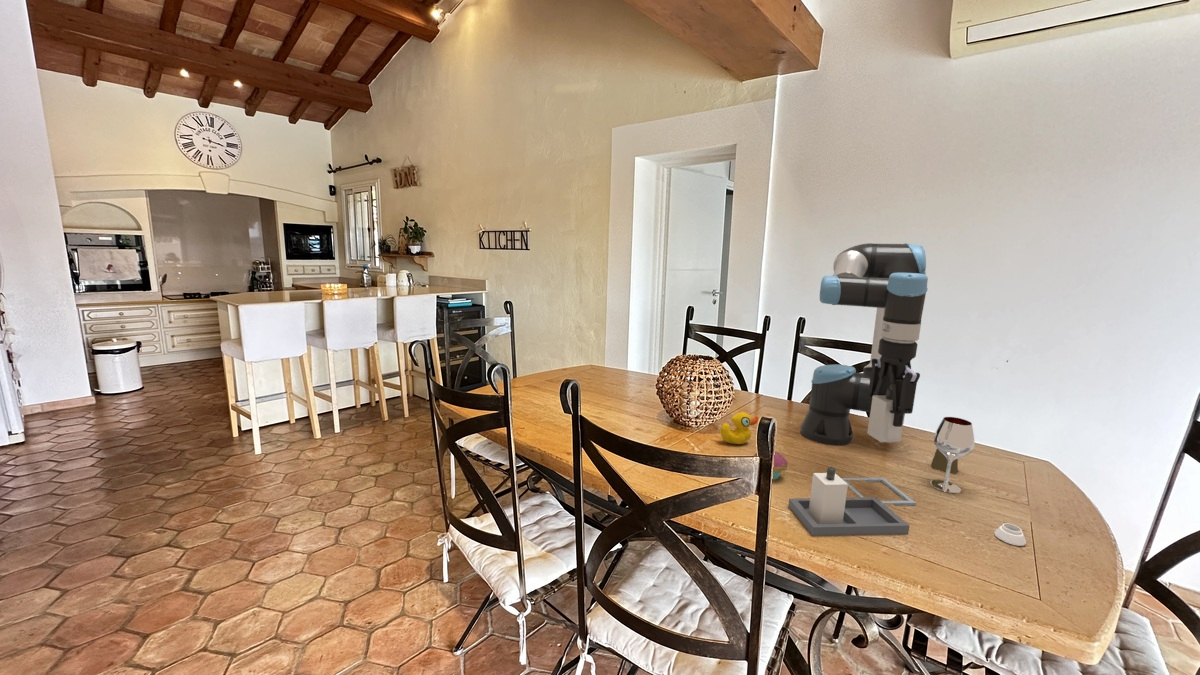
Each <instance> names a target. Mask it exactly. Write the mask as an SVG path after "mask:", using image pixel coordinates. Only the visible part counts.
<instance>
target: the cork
mask: <svg viewBox="0 0 1200 675" xmlns="http://www.w3.org/2000/svg"><path fill="white" fill-rule="evenodd" d="M958 461H959V458H958V459H955V460H954V461H953V462H952V464H951V469H950V474H957V473H958V471H959V470H958V469H959V468H958V466H959V462H958ZM947 464H948V460H947V458H946V457H945V456H944V455H943V454H942V453H941V452H940V451H939V450H938V448H937V447H936V450H935V453H934V455H933V458H932V461H931V465H930V466H931V467H932V468H933V467H934V468H933V469H935V470H937V471H939V470H940V472H942V471H943V473H946V469H947ZM956 472H957V473H956Z"/></svg>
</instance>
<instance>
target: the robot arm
mask: <svg viewBox="0 0 1200 675" xmlns="http://www.w3.org/2000/svg"><path fill="white" fill-rule="evenodd" d="M924 248H925V247H923V245H920V244H916V243H915V244H912V243H906V242H905V243H872V242H871V243H862V244H857V245H854V246H851V247H849V248H847V249H845V250H843V251H841V252H840V253H839V254H838V255H837V256H836V257H835V260H834V262H833V268H832V269H833V272H834V273H833V275H824V276H823V277H822V278H821V282H820V289H819V302H820V303H822V304H825V305H832V306H849V307H863V308H864V307H865V308H875V309H876V311H875V312H876V313H875V314H876V315H875V319H874V320H875V322H874V327H873V328H874V330H873V338H872V344H871V351H870V352H871V353H870V361H869V363H868V364H867V365H865V366H864V367H863V372H856V371H857V370H856V368H855V367H854V366H852V365H848V364H838V363H837V364H835V363H834V364H824V365H820V366H818V367H816V368H815V369H814V371H813V374H812V379H811V390H810V398H809V407H808V411H807V412H806V415H805V417H804V419H803V421H802V423H801V425H800V434H801V435H802V436H803V437H804V438H806V439H808V440H810V441H813V442H816V443H819V444H823V445H829V446H847V445H849V444H852V442H853V438H854V432H853V428H852V424H851V420H850V411H851V410H853V411H859V412H866V413H870V411H871V405H872V398H873V395H886V392H887V388H891V389H892V400H893V410H890V414H889V420H888V426H887V433H886V438H899V434H900V428H901V426H902V422H903V417H904V414H905V415H906V414H907V415H908V414H912V413H913V410H914V405H915V404H914V403H915V398H916V397H915V396H916V391H917V384H918V381H919V379H920V377H921V374H920V373H919V372H914V371H913V369H912V364H911V361H912V360H913V359H915V358H916V357H917V350H918V343H917V342H918V340H919V339H920V332H921V326H922V318H923V317H922V316H923V312H924V307H925V306H924V305H925V302H926V294H927V292H928V282H929V281H928V280H929V279H928V278H929V277H928V275H927V274H926V273H927V272H926V269H927V258H926V257H927V256H926V251H925V249H924ZM898 407H899V408H898ZM904 418H905V417H904Z"/></svg>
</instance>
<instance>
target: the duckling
mask: <svg viewBox="0 0 1200 675" xmlns="http://www.w3.org/2000/svg"><path fill="white" fill-rule="evenodd" d="M730 420H731V422H732V424H733V425H734V427H735V428H734V429H732V428H731V427H730V424H729V423H727V422H724V423H722V425H721V426H720V436H721V438H722V440H724V442H726V443H729V444H732V445H744V444H745V443H747V442H748V441H749V440H750V439H751V437H752V432H751V430H750V429H749V427H750V426H755V425H756V424H757V423H758V421H759V416H758V415H755V416H754V417H751V415H750V414H749V413H747V412H744V411H739V412H737V413H736V414H734V415H733V416H732V417H731V419H730Z"/></svg>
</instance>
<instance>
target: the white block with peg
mask: <svg viewBox="0 0 1200 675" xmlns="http://www.w3.org/2000/svg"><path fill="white" fill-rule="evenodd" d="M898 408H899V407H898ZM890 410H893V400H892V389H891V388H887V392H886V395H873V398H872V405H871V411H870V412H869V418H868V426H867V432H866V433H867V435H869V436H870V437H872V438H873V439H875V440H877V441H878V442H879V443H900V442H901V441H902V435H903V429H904V428H903V427H904V422H905V415H906V414H904V417H903V422H902V426H901V428H900V434H899V438H886V433H887V426H888V420H889V414H890Z"/></svg>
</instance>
